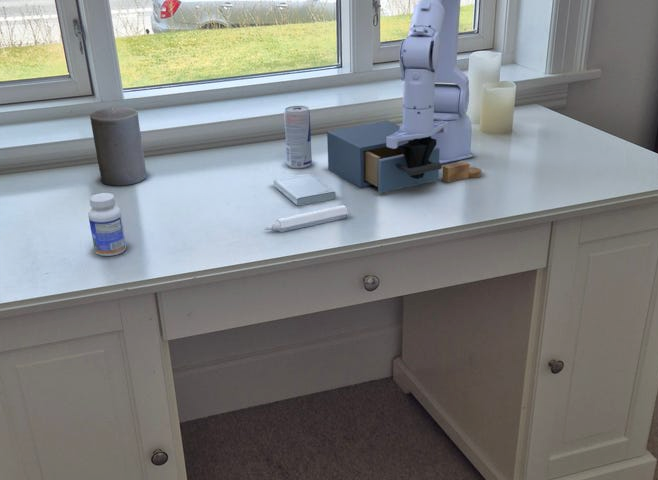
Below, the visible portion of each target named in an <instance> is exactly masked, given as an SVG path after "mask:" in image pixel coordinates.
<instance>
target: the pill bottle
mask: <svg viewBox="0 0 658 480" xmlns="http://www.w3.org/2000/svg"><path fill="white" fill-rule="evenodd" d="M89 206H90V207H91V208H90V209H89V211H88V214H87V215H88V216H87V217H88V221H89V228H90V232H91V238H92V243H93V249H94V252H95V253H96V255H99V256H101V257H113V256H118V255H121V254H123V253H124V252H125V251H126V249H127V242H126V241H127V240H126V236H125V229H124V224H123V218H122V211H121V209H120V208H119V206H118V205H116V199H115V195H114V194H113V193H109V192H101V193H96V194H93V195H91V196H90V197H89Z"/></svg>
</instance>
